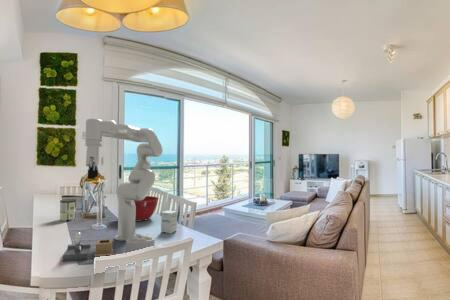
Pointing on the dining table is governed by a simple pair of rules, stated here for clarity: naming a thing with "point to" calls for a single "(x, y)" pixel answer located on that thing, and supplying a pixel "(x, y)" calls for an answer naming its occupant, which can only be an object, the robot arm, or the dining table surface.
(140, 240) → the lumpy-topped squat cylinder
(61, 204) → the coffee can
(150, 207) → the mixing bowl
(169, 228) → the supplement box
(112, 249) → the cork pad
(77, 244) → the vise block
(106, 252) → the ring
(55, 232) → the dining table surface
